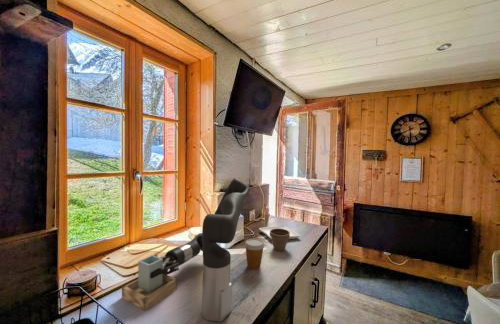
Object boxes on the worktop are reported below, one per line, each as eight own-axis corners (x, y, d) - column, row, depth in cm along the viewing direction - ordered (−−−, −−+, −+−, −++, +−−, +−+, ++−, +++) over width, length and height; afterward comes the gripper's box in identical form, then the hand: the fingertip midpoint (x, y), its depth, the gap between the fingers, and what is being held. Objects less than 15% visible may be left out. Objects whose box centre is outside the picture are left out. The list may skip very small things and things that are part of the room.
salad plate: (284, 229, 164) (284, 224, 164) (301, 240, 144) (301, 234, 144) (258, 232, 156) (258, 227, 156) (271, 243, 136) (271, 238, 136)
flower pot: (280, 255, 120) (280, 236, 120) (265, 248, 129) (265, 230, 129) (293, 249, 128) (293, 232, 128) (278, 243, 137) (279, 227, 136)
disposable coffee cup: (253, 260, 114) (254, 236, 113) (267, 267, 107) (268, 242, 107) (239, 266, 107) (240, 241, 107) (253, 274, 100) (254, 247, 100)
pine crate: (176, 289, 87) (177, 279, 87) (145, 310, 75) (145, 299, 75) (154, 279, 94) (154, 270, 93) (121, 297, 81) (122, 287, 81)
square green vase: (162, 284, 85) (162, 258, 85) (148, 292, 80) (149, 265, 80) (152, 279, 88) (152, 254, 88) (138, 287, 83) (138, 261, 83)
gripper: (168, 243, 100) (132, 258, 85) (192, 251, 93) (158, 268, 78) (167, 259, 100) (132, 277, 85) (191, 268, 93) (157, 289, 79)
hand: (145, 273), depth 82 cm, fingers closed on square green vase, 5 cm apart
